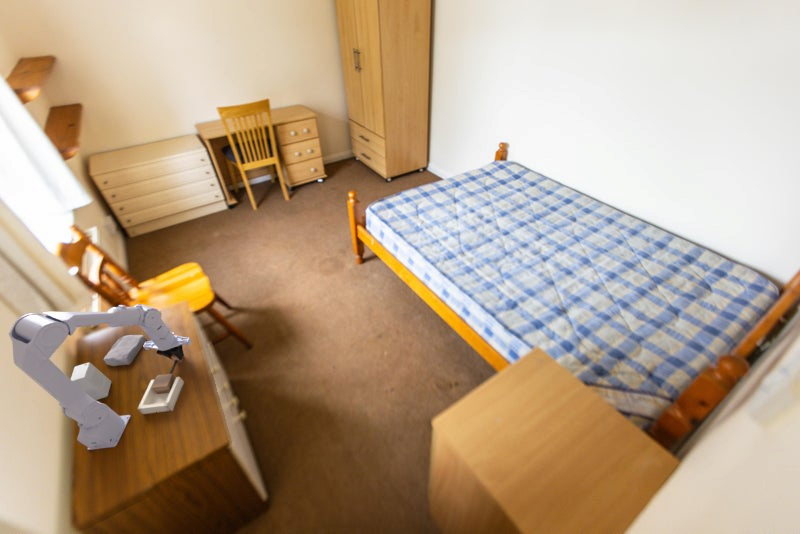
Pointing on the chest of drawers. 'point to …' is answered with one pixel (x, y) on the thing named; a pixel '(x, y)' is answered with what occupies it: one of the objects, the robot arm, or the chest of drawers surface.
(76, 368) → the skincare box
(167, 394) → the tray
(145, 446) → the chest of drawers surface
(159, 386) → the corded block
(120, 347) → the stone block
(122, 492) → the chest of drawers surface
